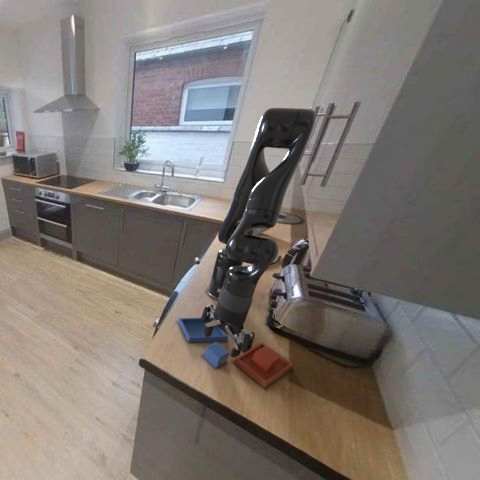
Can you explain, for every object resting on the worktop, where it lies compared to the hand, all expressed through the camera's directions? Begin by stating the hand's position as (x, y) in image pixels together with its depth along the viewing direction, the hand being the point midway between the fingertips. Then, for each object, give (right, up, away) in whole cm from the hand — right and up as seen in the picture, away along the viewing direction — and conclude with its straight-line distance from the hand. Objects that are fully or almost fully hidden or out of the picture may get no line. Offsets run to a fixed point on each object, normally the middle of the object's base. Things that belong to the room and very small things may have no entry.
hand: (220, 345), depth 76 cm
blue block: (0, -6, +3) cm, 7 cm away
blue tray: (+1, -1, +14) cm, 14 cm away
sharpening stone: (+67, +37, +90) cm, 118 cm away
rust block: (+13, -6, +1) cm, 15 cm away
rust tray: (+13, -7, +1) cm, 15 cm away
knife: (+36, +4, +22) cm, 43 cm away
